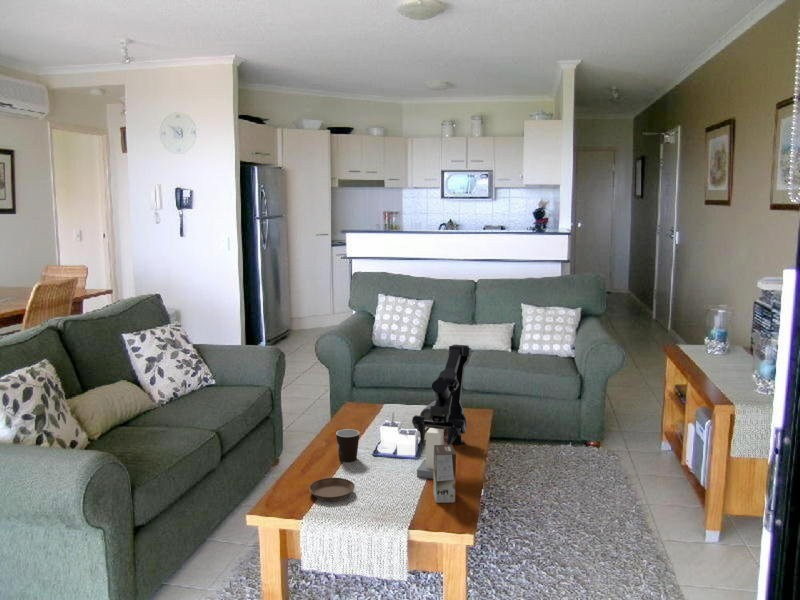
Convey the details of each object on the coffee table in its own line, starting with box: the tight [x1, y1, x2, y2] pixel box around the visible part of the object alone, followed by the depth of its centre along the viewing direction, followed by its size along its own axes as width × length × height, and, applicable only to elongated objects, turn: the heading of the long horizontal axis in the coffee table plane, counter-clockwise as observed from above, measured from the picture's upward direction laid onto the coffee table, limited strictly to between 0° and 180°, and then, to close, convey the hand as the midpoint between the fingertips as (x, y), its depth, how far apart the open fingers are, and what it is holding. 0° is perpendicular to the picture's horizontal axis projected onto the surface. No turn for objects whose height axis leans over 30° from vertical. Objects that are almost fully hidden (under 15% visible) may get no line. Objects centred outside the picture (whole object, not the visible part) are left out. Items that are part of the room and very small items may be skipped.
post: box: [425, 427, 445, 469], centre depth 239 cm, size 5×5×13 cm
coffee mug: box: [335, 428, 361, 463], centre depth 253 cm, size 12×9×10 cm
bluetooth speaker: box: [419, 399, 436, 428], centre depth 294 cm, size 23×9×10 cm, turn 155°
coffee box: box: [432, 444, 457, 504], centre depth 220 cm, size 9×6×16 cm
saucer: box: [308, 477, 356, 502], centre depth 223 cm, size 15×15×3 cm
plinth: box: [416, 459, 434, 480], centre depth 240 cm, size 10×10×2 cm
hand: (434, 446), depth 239 cm, fingers open, 9 cm apart
